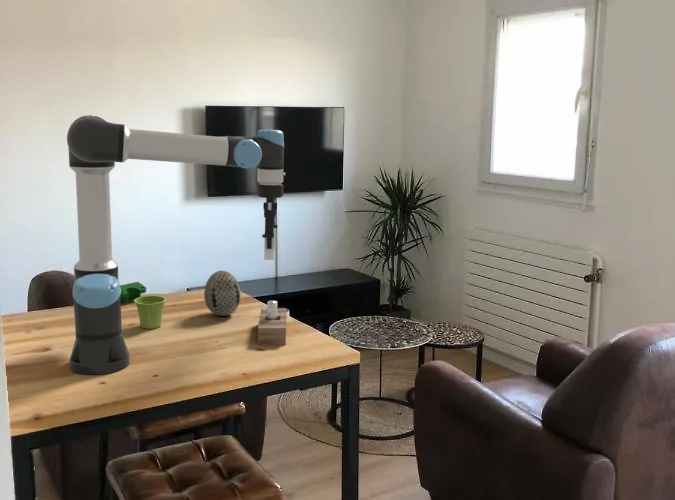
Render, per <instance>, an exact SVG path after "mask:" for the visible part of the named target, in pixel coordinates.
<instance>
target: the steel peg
mask: <svg viewBox="0 0 675 500" xmlns="http://www.w3.org/2000/svg"><path fill="white" fill-rule="evenodd" d="M277 309H278V300H268V301H267V320H277Z"/></svg>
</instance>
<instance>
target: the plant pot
mask: <svg viewBox="0 0 675 500" xmlns="http://www.w3.org/2000/svg"><path fill="white" fill-rule="evenodd" d="M166 300H167V299H166V297H165V296H161V295H145V296H141V297H139V298H136V299H135V300H133V301H134V304H135V305H136V306H135V307H136V308H137V313H138V319H139V323H140V328H141V329H147V330H156V329H158V327H161V326H162V321H163V319H162V318H163V311H164V305H165V302H166Z"/></svg>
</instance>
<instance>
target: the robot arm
mask: <svg viewBox="0 0 675 500" xmlns="http://www.w3.org/2000/svg"><path fill="white" fill-rule="evenodd" d="M284 140H285V139H284V132H283V131H282V130H279V129H259V130H257V135H256V136H236V135H235V136H231V135H226V136H214V135H213V136H212V135H202V134H192V133H191V134H190V133H182V132H181V133H178V132H168V131H156V130H147V129H146V130H144V129H133V128H129V127H128V126H127V125H126V124H124V123H123V124H122V123H121V124H120V123H115V122H109V121H107V120H105V119H103V118H102V117H101V116H97V115H92V114H89V115H82V116H79V117H78V118H76V119H75V120H74V121H73V122H72V123H71V124H70V126H69V128H68V131H67V134H66V143H67V146H68V163H69V164H68V167H69V168H70V169H71V170H72V171H73V172H74V173H75V183H76V184H75V188H76V190H75V191H76V212H77V231H78V232H77V234H78V251H79V252H78V257H79V260H78V261H77V262H76V263H75V264H73V276H74V282H73V285H72V286H73V287H72V291H71V292H72V294H71V295H72V299H73V311H74V329H75V331H74V332H75V341H74V343H73V347H72V349H71V350H72V351H71V354H70V357H69V368H70V369H71V370H72V371H73V372H75V373H76V374H77V373H78V374H83V375H104V374H105V375H106V374H109V373H114V372H118V371H121V370H122V369H125V368H127V367H128V366H129V365H130V364H131V359H130V358H131V355H130V351H129V349H128V346H127V344H126V341H125V339H124V337H123V331H122V330H123V329H122V328H123V327H122V326H123V325H122V302H121V300H120V294H121V288H120V281H119V265H118V264H119V263H118V262H116V261H115V260H114V259H113V251H112V247H113V246H112V217H111V216H112V215H111V192H110V189H111V187H110V173H111V171H112V170H113V169H114V168H115V166H116V163H124V162H126V161H127V160H139V161H140V160H142V161H154V162H155V161H156V162H170V163H180V164H181V163H183V164H197V165H212V166H226V167H235V168H236V167H237V168H242V169H253V168H255V167H256V166H257V170H256V171H257V174H256V175H257V177H256V178H257V182H258V184H257V197H259V198H262V199H263V198H265V199H266V201H265V202H263V207H262V208H263V217H264V234H261V235H262V236H261V237H262V239H264V252H263V253H264V259H263V260H264V261H265V260H267V261H274V259H275V251H276V229H278V225H277V224H276V216H277V210H278V202H276V199H280V198H283V196H284V185H283V184H282V183H283V182H284V176H286V172H284V157H285V156H284V155H285V141H284Z"/></svg>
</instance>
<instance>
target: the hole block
mask: <svg viewBox="0 0 675 500" xmlns="http://www.w3.org/2000/svg"><path fill="white" fill-rule="evenodd" d="M286 340H287V308H277V320H267V308H266V307H265V308H263V307H262V308H261V309H260V314H259V320H258V328H257V345H264V346H265V345H275V346H276V345H286V342H287V341H286Z"/></svg>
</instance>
